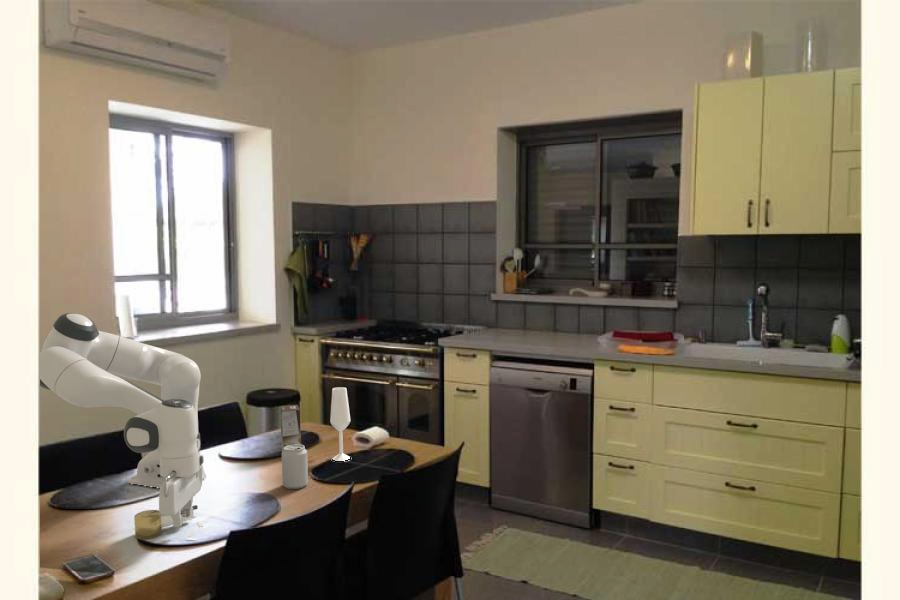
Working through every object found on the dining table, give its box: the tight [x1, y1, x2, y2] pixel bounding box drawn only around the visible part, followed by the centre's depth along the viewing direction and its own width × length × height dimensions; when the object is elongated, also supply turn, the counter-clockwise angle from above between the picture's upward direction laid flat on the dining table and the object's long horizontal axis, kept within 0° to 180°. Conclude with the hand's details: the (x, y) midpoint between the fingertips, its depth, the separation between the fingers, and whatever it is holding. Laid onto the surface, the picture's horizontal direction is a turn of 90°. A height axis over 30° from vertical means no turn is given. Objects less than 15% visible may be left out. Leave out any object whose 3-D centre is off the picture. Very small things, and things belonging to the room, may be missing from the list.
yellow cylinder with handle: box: [133, 504, 198, 540], centre depth 172 cm, size 15×6×5 cm, turn 135°
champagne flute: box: [329, 386, 351, 462], centre depth 233 cm, size 7×7×24 cm
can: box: [281, 444, 309, 490], centre depth 207 cm, size 8×8×12 cm
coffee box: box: [279, 404, 302, 453], centre depth 241 cm, size 9×6×16 cm
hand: (182, 521), depth 171 cm, fingers open, 5 cm apart
